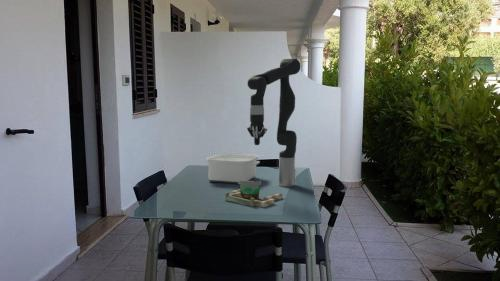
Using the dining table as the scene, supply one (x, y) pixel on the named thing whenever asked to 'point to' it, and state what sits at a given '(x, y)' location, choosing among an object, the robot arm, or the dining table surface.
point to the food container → (250, 189)
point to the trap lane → (237, 194)
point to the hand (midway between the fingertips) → (257, 144)
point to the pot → (232, 167)
